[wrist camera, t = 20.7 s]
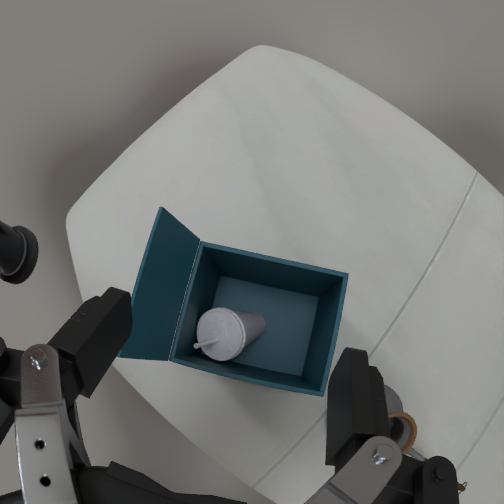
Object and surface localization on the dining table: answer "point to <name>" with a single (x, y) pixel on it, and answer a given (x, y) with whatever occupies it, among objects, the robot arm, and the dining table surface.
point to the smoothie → (227, 332)
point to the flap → (160, 289)
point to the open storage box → (265, 317)
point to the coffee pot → (404, 427)
